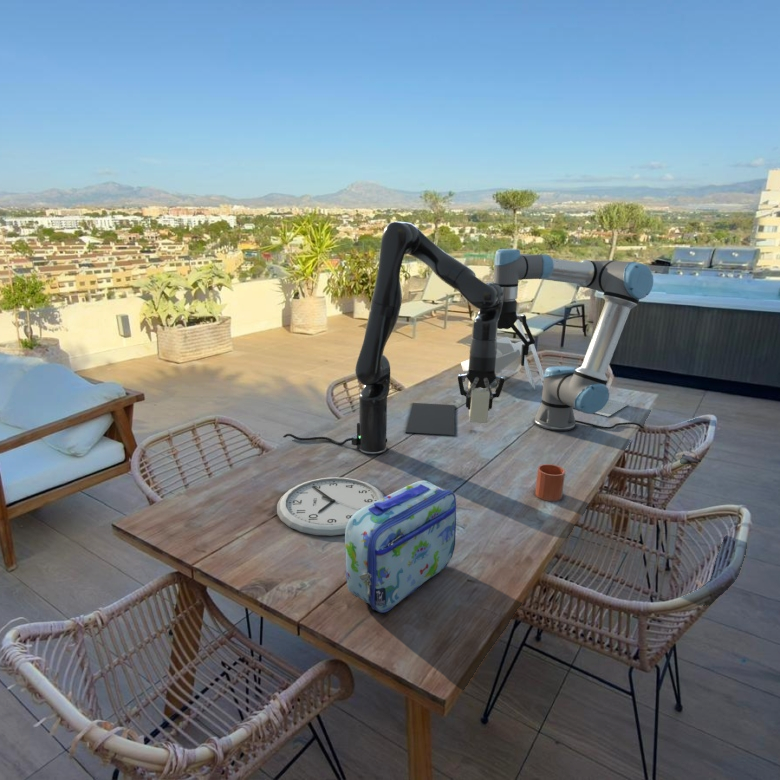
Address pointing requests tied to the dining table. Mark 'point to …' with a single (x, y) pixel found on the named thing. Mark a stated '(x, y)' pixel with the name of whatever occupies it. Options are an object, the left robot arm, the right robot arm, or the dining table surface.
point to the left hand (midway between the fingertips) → (478, 409)
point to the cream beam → (479, 405)
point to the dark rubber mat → (432, 419)
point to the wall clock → (325, 504)
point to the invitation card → (610, 408)
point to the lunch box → (399, 543)
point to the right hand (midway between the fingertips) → (501, 364)
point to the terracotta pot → (550, 482)
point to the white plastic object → (512, 356)
